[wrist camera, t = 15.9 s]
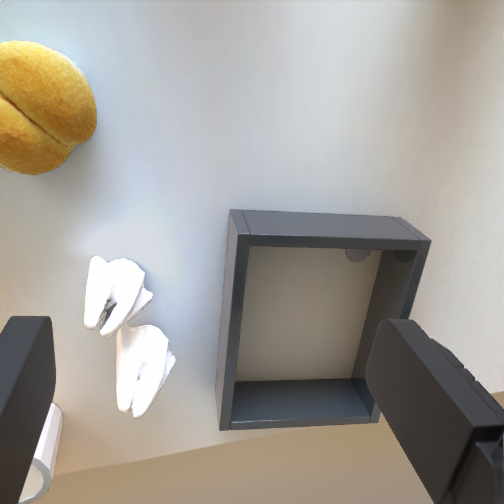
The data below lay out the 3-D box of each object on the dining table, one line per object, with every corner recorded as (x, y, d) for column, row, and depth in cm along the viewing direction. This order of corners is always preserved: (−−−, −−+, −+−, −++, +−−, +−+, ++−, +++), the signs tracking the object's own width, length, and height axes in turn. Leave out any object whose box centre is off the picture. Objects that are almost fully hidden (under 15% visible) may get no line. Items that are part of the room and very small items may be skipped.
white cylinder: (-17, 402, 41) (-52, 465, 35) (54, 384, 42) (32, 443, 35) (13, 450, 44) (-14, 516, 38) (79, 433, 45) (63, 495, 38)
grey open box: (214, 389, 45) (219, 431, 40) (229, 208, 37) (237, 233, 32) (357, 385, 48) (378, 423, 43) (400, 216, 40) (432, 240, 35)
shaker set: (177, 350, 42) (177, 442, 32) (136, 362, 42) (123, 459, 32) (134, 244, 37) (119, 315, 27) (87, 258, 37) (54, 334, 27)
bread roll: (120, 108, 32) (113, 116, 29) (37, 185, 34) (21, 201, 30) (28, 9, 29) (7, 3, 25) (-60, 99, 30) (-92, 106, 27)
